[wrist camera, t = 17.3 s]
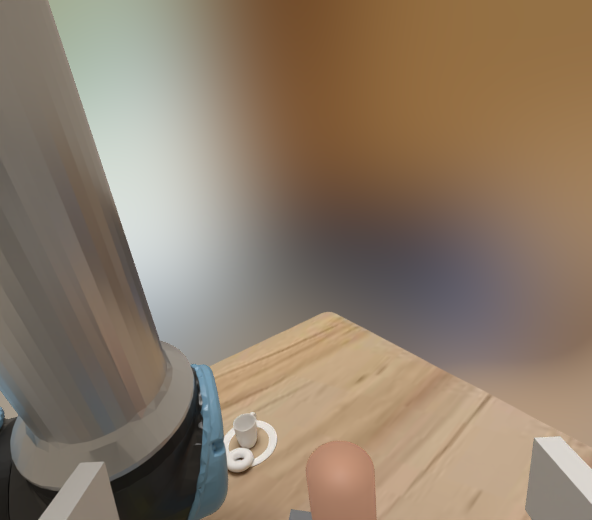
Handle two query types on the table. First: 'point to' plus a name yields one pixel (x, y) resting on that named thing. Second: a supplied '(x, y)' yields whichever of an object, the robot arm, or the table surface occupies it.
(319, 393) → the table surface
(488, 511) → the table surface
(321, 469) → the dowel
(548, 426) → the table surface
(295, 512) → the tray
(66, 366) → the robot arm
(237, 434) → the teacup and saucer
